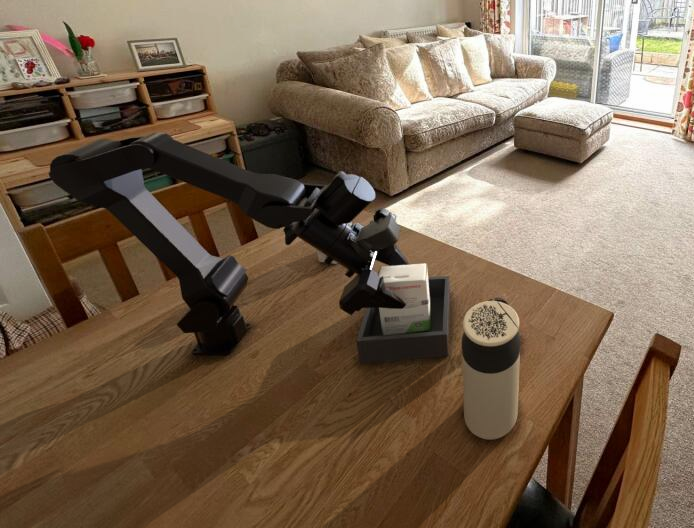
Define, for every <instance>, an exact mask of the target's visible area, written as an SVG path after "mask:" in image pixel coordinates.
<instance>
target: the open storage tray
mask: <svg viewBox="0 0 694 528" xmlns="http://www.w3.org/2000/svg"><path fill="white" fill-rule="evenodd" d="M428 283H429V295H430V306H431V328H430V330H429V331H421V332H411V333H402V334H393V335H383V333H382V326H381V319H380V312H379V308H365V311H364V314H363V318H362V320H361V325H360V327H359V332H358V335H357V339H356V347H357V351H358V352H357V353H358V361H359V364H372V363H373V364H374V363H385V362H394V361H395V362H396V361H408V360H419V359H431V358H432V359H433V358H444V357H449V343H450V342H449V341H450V318H451V317H450V315H451V314H450V313H451V281H450V275H437V276H428Z"/></svg>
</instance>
